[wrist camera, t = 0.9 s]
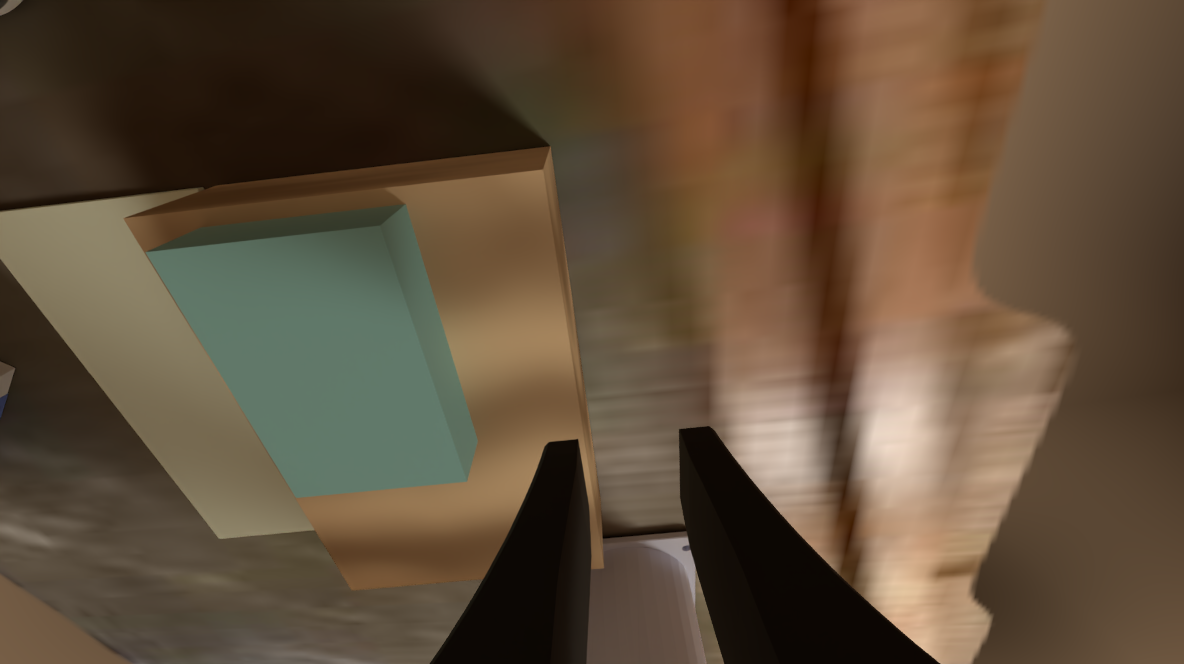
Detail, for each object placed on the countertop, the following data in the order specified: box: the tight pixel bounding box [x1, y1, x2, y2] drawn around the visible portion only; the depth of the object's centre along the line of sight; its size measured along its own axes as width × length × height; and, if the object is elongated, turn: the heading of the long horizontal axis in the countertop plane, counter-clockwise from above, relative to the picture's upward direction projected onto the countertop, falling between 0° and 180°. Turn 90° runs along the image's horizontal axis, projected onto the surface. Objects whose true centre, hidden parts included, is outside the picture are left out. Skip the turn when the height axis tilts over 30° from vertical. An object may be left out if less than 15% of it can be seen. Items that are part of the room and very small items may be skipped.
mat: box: [0, 187, 314, 539], centre depth 21 cm, size 18×8×1 cm, turn 6°
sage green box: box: [145, 204, 478, 498], centre depth 15 cm, size 9×6×2 cm, turn 6°
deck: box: [123, 146, 604, 591], centre depth 19 cm, size 18×12×4 cm, turn 6°
